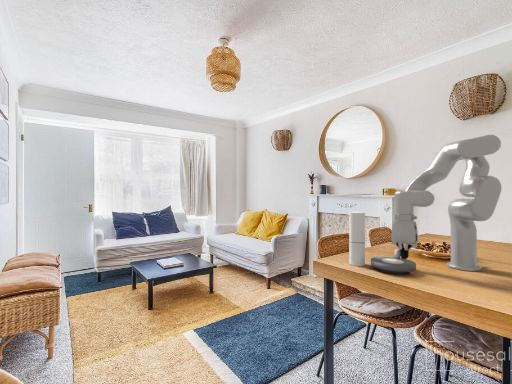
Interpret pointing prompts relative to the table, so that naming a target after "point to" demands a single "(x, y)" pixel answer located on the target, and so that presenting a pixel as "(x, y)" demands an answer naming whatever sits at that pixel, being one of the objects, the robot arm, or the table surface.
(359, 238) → the cylindrical container
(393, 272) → the turntable base
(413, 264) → the disc
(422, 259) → the table surface
